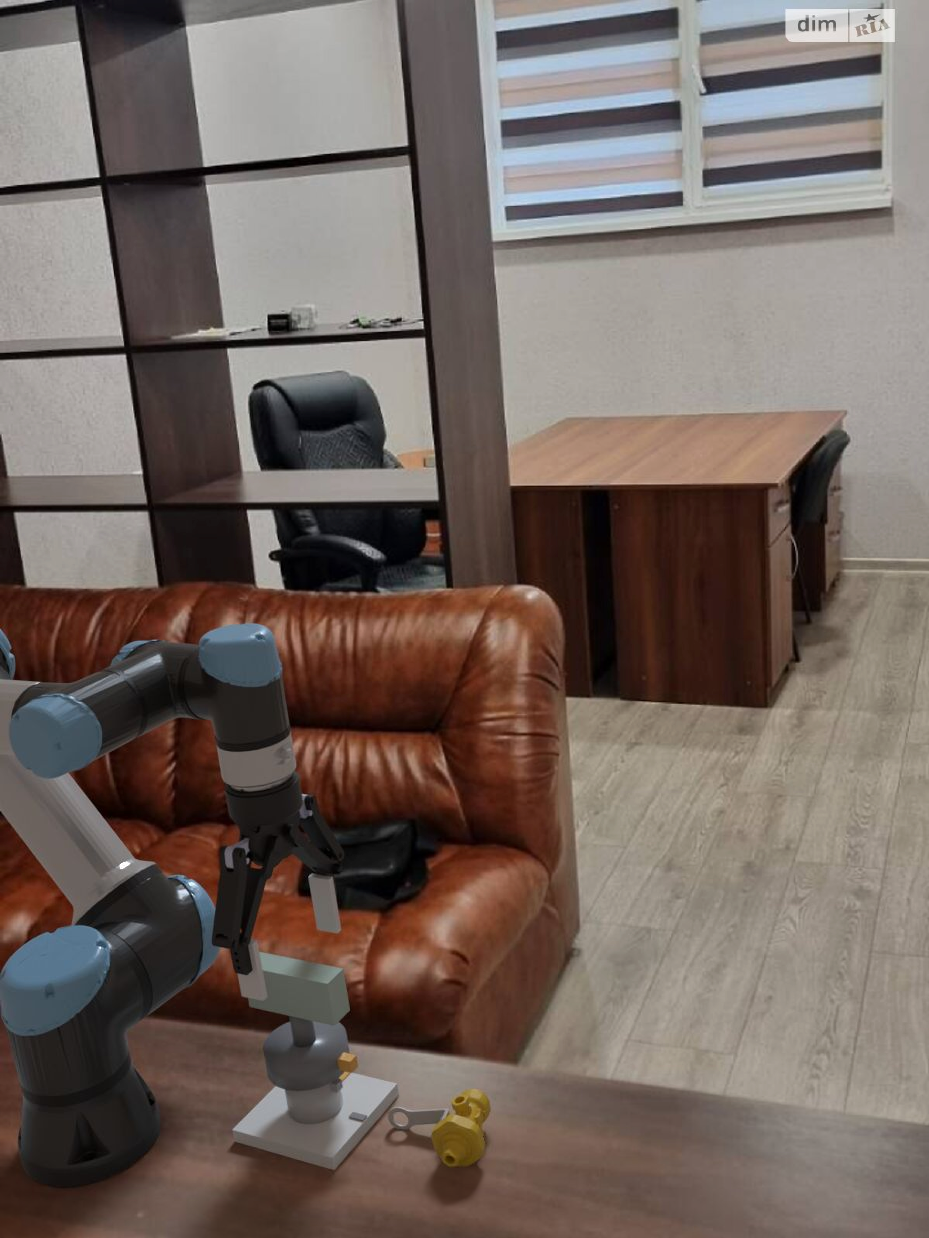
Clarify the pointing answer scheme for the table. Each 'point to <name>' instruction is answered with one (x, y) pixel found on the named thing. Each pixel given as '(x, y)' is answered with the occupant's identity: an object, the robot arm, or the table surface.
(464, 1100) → the pressure relief valve
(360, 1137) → the base
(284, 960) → the cap
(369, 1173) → the table surface
